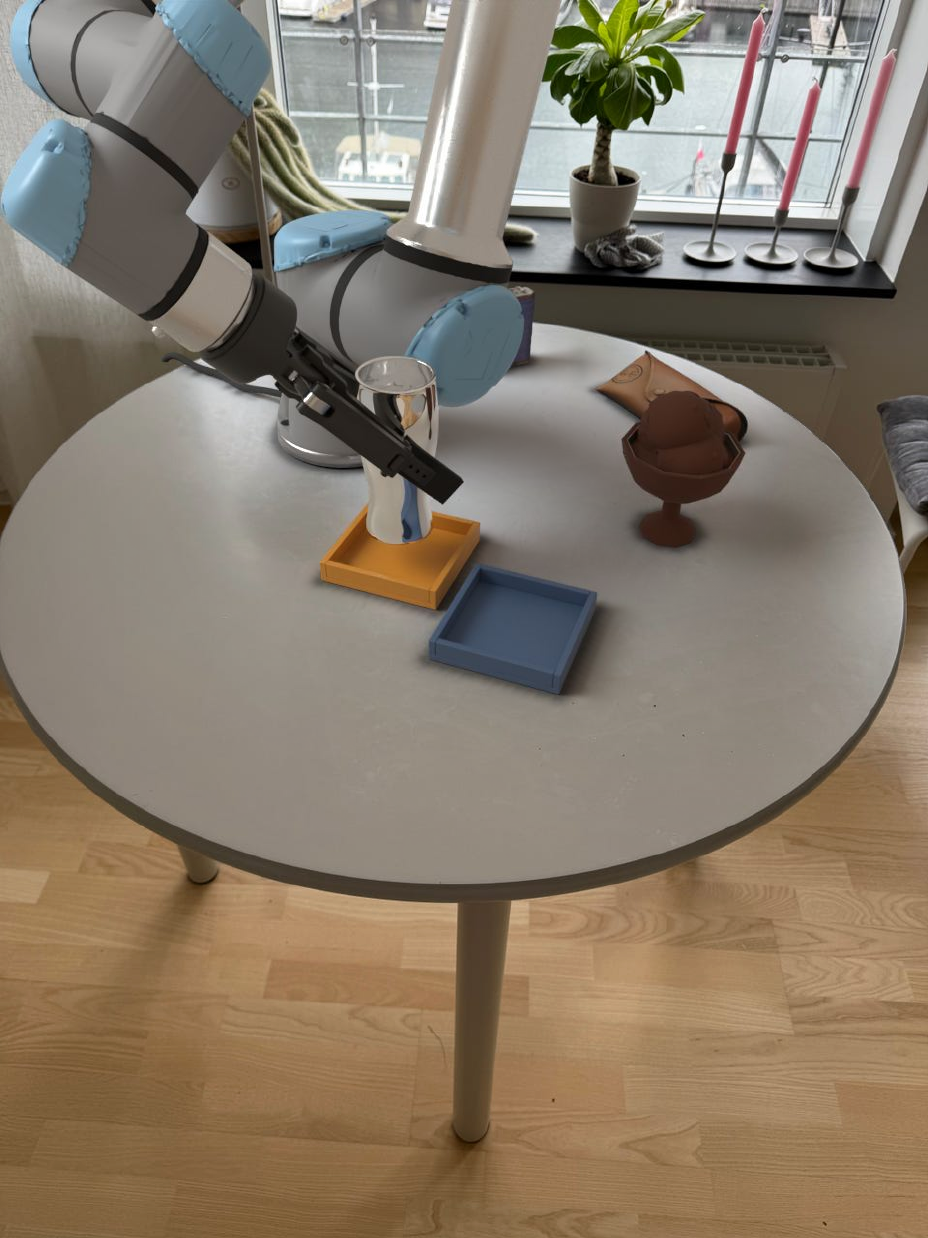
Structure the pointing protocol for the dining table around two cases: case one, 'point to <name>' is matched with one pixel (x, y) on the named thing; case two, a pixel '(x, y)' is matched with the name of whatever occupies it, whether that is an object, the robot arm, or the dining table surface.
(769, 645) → the dining table surface
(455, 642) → the blue tray
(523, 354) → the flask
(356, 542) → the amber tray
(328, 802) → the dining table surface
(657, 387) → the sunglasses case
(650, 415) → the ice cream bowl
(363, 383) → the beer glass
